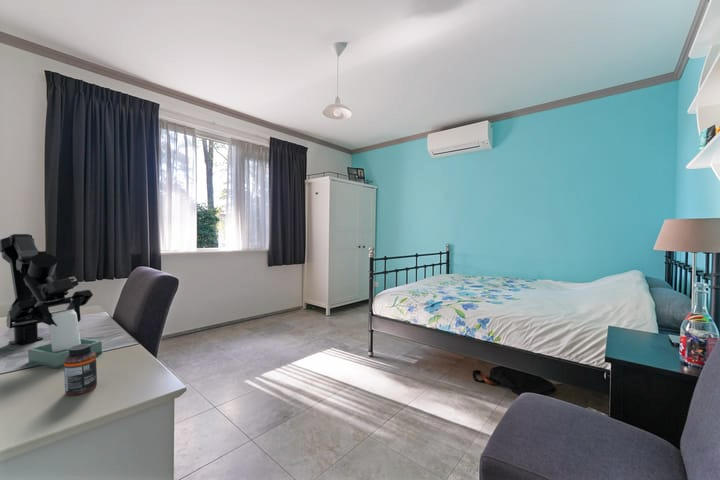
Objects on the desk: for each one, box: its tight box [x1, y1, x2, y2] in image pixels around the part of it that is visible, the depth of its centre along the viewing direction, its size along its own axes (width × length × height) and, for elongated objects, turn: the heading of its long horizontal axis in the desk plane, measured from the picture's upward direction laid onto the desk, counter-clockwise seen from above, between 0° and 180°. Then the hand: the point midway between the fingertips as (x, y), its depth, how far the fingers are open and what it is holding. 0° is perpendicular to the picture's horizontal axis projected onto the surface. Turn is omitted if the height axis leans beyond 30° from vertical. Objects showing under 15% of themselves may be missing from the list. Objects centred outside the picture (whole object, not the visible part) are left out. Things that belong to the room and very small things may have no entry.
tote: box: [27, 336, 103, 370], centre depth 95 cm, size 14×12×4 cm
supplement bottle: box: [63, 344, 98, 396], centre depth 76 cm, size 6×6×11 cm
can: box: [48, 309, 81, 352], centre depth 94 cm, size 6×6×12 cm
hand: (68, 323), depth 94 cm, fingers closed on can, 5 cm apart
